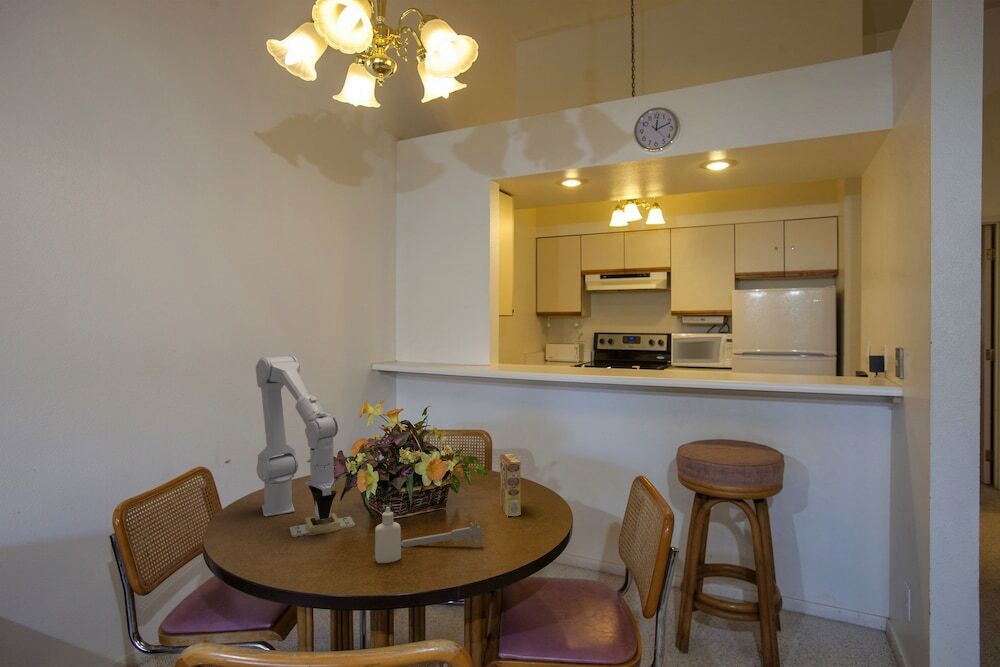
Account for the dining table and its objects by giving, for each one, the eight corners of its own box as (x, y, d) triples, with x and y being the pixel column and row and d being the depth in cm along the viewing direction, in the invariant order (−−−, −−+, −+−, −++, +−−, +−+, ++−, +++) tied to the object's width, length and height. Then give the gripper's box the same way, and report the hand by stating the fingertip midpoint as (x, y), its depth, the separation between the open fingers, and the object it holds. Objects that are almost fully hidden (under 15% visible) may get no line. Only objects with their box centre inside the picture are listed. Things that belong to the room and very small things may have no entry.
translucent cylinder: (312, 525, 137) (314, 499, 137) (328, 524, 139) (330, 497, 139) (315, 530, 133) (317, 503, 134) (331, 529, 135) (333, 502, 136)
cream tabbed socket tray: (289, 528, 136) (289, 520, 136) (349, 517, 143) (349, 510, 143) (292, 538, 129) (292, 531, 129) (355, 527, 136) (355, 519, 136)
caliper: (482, 547, 125) (482, 521, 125) (481, 549, 124) (481, 523, 124) (397, 545, 126) (397, 520, 126) (396, 547, 125) (396, 521, 125)
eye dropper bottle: (379, 554, 121) (379, 503, 120) (403, 556, 120) (403, 504, 119) (372, 563, 116) (372, 510, 116) (396, 565, 115) (396, 511, 115)
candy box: (521, 516, 144) (521, 461, 144) (506, 517, 143) (506, 462, 143) (513, 505, 153) (513, 453, 152) (499, 506, 152) (499, 454, 151)
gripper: (301, 458, 140) (302, 508, 141) (309, 472, 127) (310, 527, 128) (329, 455, 144) (329, 504, 144) (339, 468, 131) (340, 522, 131)
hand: (322, 514), depth 136 cm, fingers open, 5 cm apart
